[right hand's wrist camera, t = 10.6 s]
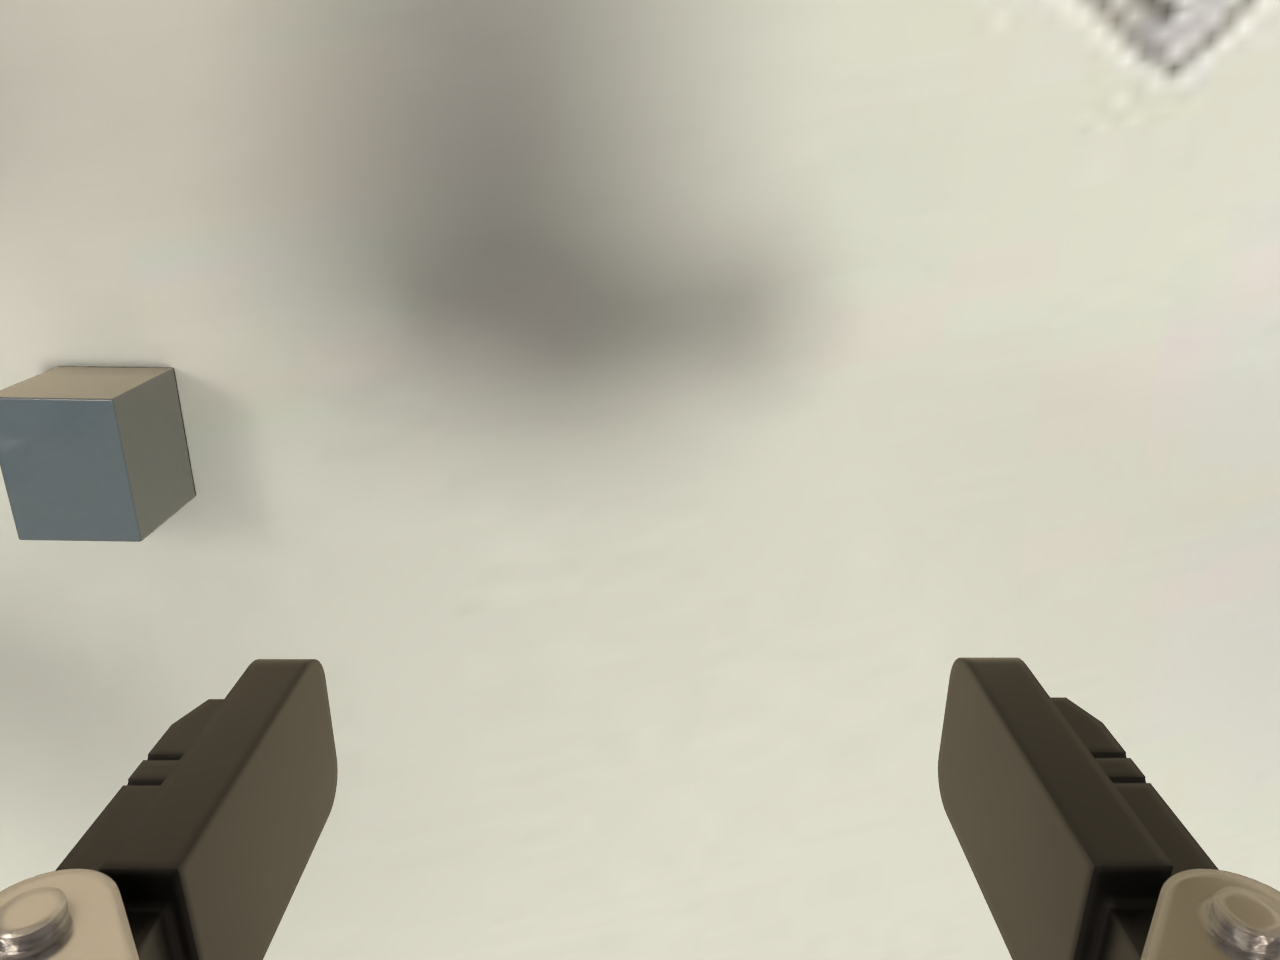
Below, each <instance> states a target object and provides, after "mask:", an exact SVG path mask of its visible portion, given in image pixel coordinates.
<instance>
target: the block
mask: <svg viewBox="0 0 1280 960" xmlns="http://www.w3.org/2000/svg"><path fill="white" fill-rule="evenodd" d="M0 466H1V470H2V474H3V478H4V482H5V486H6V490H7V494H8V498H9V502H10V506H11V510H12V514H13V518H14V521H15V525H16V529H17V533H18V537H19V539H20V540H65V541H133V542H141V541H142V540H144V539H145V538H146V537H147V536H148V535H150V534H151V533H152V532H153V531H154V530H156V529H157V528H158V527H159V526H161V525H162V524H163V523H164V522H165V521H167V520H168V519H169V518H170V517H171V516H173V515H174V514H175V513H176V512H177V511H179V510H180V509H181V508H182V507H183V506H185V505H186V504H187V503H188V502H190V501H191V500H192V499H193V498H194V497H195V491H194V485H193V479H192V473H191V468H190V462H189V456H188V450H187V445H186V439H185V433H184V427H183V422H182V416H181V410H180V404H179V399H178V393H177V387H176V381H175V376H174V370H173V369H172V368H127V367H61V366H59V367H57V368H54V369H52V370H49V371H47V372H44V373H42V374H40V375H37V376H35V377H32V378H30V379H27V380H25V381H22V382H20V383H18V384H15V385H13V386H10V387H8V388H5V389H3V390H0Z"/></svg>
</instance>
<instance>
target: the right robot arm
mask: <svg viewBox="0 0 1280 960" xmlns="http://www.w3.org/2000/svg"><path fill="white" fill-rule="evenodd" d="M938 779H939V788H940V794H941V798H942V803H943V806H944V809H945V811H946V814H947V816H948V818H949V820H950V823H951V825H952V827H953V829H954V831H955V834H956V836H957V838H958V840H959V842H960V845H961V847H962V849H963V851H964V854H965V856H966V858H967V860H968V862H969V865H970V867H971V869H972V871H973V873H974V876H975V878H976V880H977V882H978V884H979V887H980V889H981V891H982V893H983V895H984V898H985V900H986V902H987V904H988V906H989V909H990V911H991V913H992V915H993V917H994V920H995V922H996V924H997V926H998V928H999V931H1000V933H1001V935H1002V937H1003V939H1004V942H1005V944H1006V946H1007V948H1008V951H1009V953H1010V955H1011V957H1012V959H1013V960H1280V892H1279V891H1277V890H1276V889H1274V888H1272V887H1270V886H1268V885H1266V884H1263V883H1261V882H1259V881H1257V880H1254V879H1251V878H1248V877H1245V876H1242V875H1239V874H1235V873H1231V872H1227V871H1222V870H1218V868H1217V867H1216V866H1215V864H1214V863H1213V862H1212V861H1211V859H1210V858H1209V857H1208V856H1207V854H1206V853H1205V852H1204V851H1203V849H1202V848H1201V847H1200V845H1199V844H1198V843H1197V842H1196V840H1195V839H1194V838H1193V837H1192V835H1191V834H1190V833H1189V832H1188V830H1187V829H1186V828H1185V827H1184V825H1183V824H1182V823H1181V821H1180V820H1179V819H1178V818H1177V816H1176V815H1175V814H1174V813H1173V811H1172V810H1171V809H1170V808H1169V806H1168V805H1167V804H1166V803H1165V801H1164V800H1163V799H1162V797H1161V796H1160V795H1159V794H1158V792H1157V791H1156V790H1155V789H1154V787H1153V786H1152V785H1151V784H1150V783H1146V781H1145V776H1144V775H1143V773H1142V772H1141V771H1140V770H1139V768H1138V767H1137V766H1136V765H1135V763H1134V762H1133V761H1132V760H1131V758H1126V752H1125V751H1124V749H1123V748H1122V747H1121V746H1120V744H1119V743H1118V742H1117V741H1116V739H1115V738H1114V737H1113V735H1112V734H1111V733H1110V732H1109V730H1108V729H1107V728H1106V727H1105V725H1104V724H1103V723H1102V722H1101V721H1099V720H1098V719H1096V718H1095V717H1093V716H1092V715H1090V714H1089V713H1087V712H1086V711H1084V710H1083V709H1082V708H1080V707H1079V706H1077V705H1076V704H1074V703H1073V702H1071V701H1070V700H1068V699H1067V698H1050V697H1049V695H1048V694H1047V693H1046V691H1045V690H1044V689H1043V687H1042V686H1041V684H1040V683H1039V682H1038V680H1037V679H1036V678H1035V676H1034V675H1033V674H1032V672H1031V671H1030V669H1029V668H1028V667H1027V665H1026V664H1025V663H1024V662H1023V661H1022V660H1021V659H1019V658H958V659H957V660H956V661H955V662H954V664H953V666H952V669H951V674H950V680H949V687H948V694H947V701H946V708H945V716H944V723H943V730H942V737H941V744H940V752H939V760H938ZM336 785H337V757H336V750H335V743H334V736H333V729H332V722H331V715H330V708H329V701H328V694H327V687H326V679H325V674H324V670H323V667H322V665H321V663H320V662H319V661H318V660H315V659H258V660H255V661H253V662H252V663H251V664H250V665H249V667H248V668H247V669H246V671H245V672H244V673H243V675H242V676H241V677H240V679H239V680H238V682H237V683H236V684H235V686H234V687H233V688H232V690H231V691H230V692H229V694H228V695H227V696H226V698H225V699H209V700H207V701H206V702H204V703H203V704H201V705H200V706H198V707H197V708H196V709H194V710H193V711H191V712H190V713H188V714H187V715H185V716H184V717H182V718H181V719H179V720H178V721H177V722H175V723H174V724H172V725H171V726H170V728H169V729H168V730H167V731H166V733H165V734H164V735H163V736H162V738H161V739H160V740H159V741H158V743H157V744H156V745H155V746H154V748H153V749H152V750H151V751H150V753H149V754H148V760H143V761H142V763H141V764H140V765H139V766H138V768H137V769H136V770H135V771H134V773H133V774H132V775H131V776H130V778H129V779H128V785H127V786H122V788H121V789H120V790H119V792H118V793H117V794H116V795H115V797H114V798H113V799H112V800H111V802H110V803H109V804H108V805H107V807H106V808H105V809H104V810H103V812H102V813H101V814H100V815H99V817H98V818H97V819H96V820H95V822H94V823H93V824H92V825H91V827H90V828H89V829H88V830H87V832H86V833H85V834H84V835H83V837H82V838H81V839H80V840H79V842H78V843H77V844H76V845H75V847H74V848H73V849H72V850H71V852H70V853H69V854H68V855H67V857H66V858H65V859H64V860H63V862H62V863H61V864H60V865H59V867H58V868H57V869H56V870H55V871H53V872H49V873H45V874H41V875H38V876H35V877H32V878H29V879H26V880H23V881H21V882H19V883H17V884H14V885H12V886H10V887H8V888H6V889H4V890H3V891H1V892H0V960H263V958H264V956H265V954H266V952H267V949H268V947H269V945H270V943H271V941H272V938H273V936H274V934H275V932H276V930H277V928H278V925H279V923H280V921H281V919H282V917H283V915H284V912H285V910H286V908H287V906H288V904H289V901H290V899H291V897H292V895H293V893H294V891H295V888H296V886H297V884H298V882H299V880H300V877H301V875H302V873H303V871H304V869H305V867H306V864H307V862H308V860H309V858H310V856H311V854H312V851H313V849H314V847H315V845H316V843H317V840H318V838H319V836H320V834H321V832H322V830H323V827H324V825H325V823H326V821H327V819H328V817H329V814H330V812H331V809H332V806H333V802H334V798H335V792H336Z"/></svg>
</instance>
